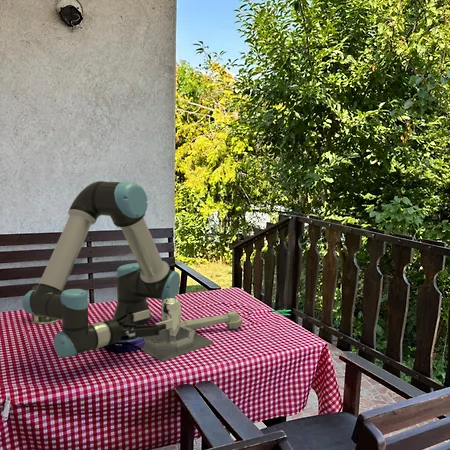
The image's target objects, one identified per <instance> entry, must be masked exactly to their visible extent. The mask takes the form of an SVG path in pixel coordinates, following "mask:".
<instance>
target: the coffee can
mask: <svg viewBox="0 0 450 450" xmlns="http://www.w3.org/2000/svg"><path fill="white" fill-rule="evenodd" d="M38 285H39V284H36V285H33V286H32V287H31V290H36V289H37V286H38ZM59 321H60V320H59V319H53V318H49V317H43V316H36V315H34V314H33V323H35V324H38V325H49V324H53V323H56V322H59Z"/></svg>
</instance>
